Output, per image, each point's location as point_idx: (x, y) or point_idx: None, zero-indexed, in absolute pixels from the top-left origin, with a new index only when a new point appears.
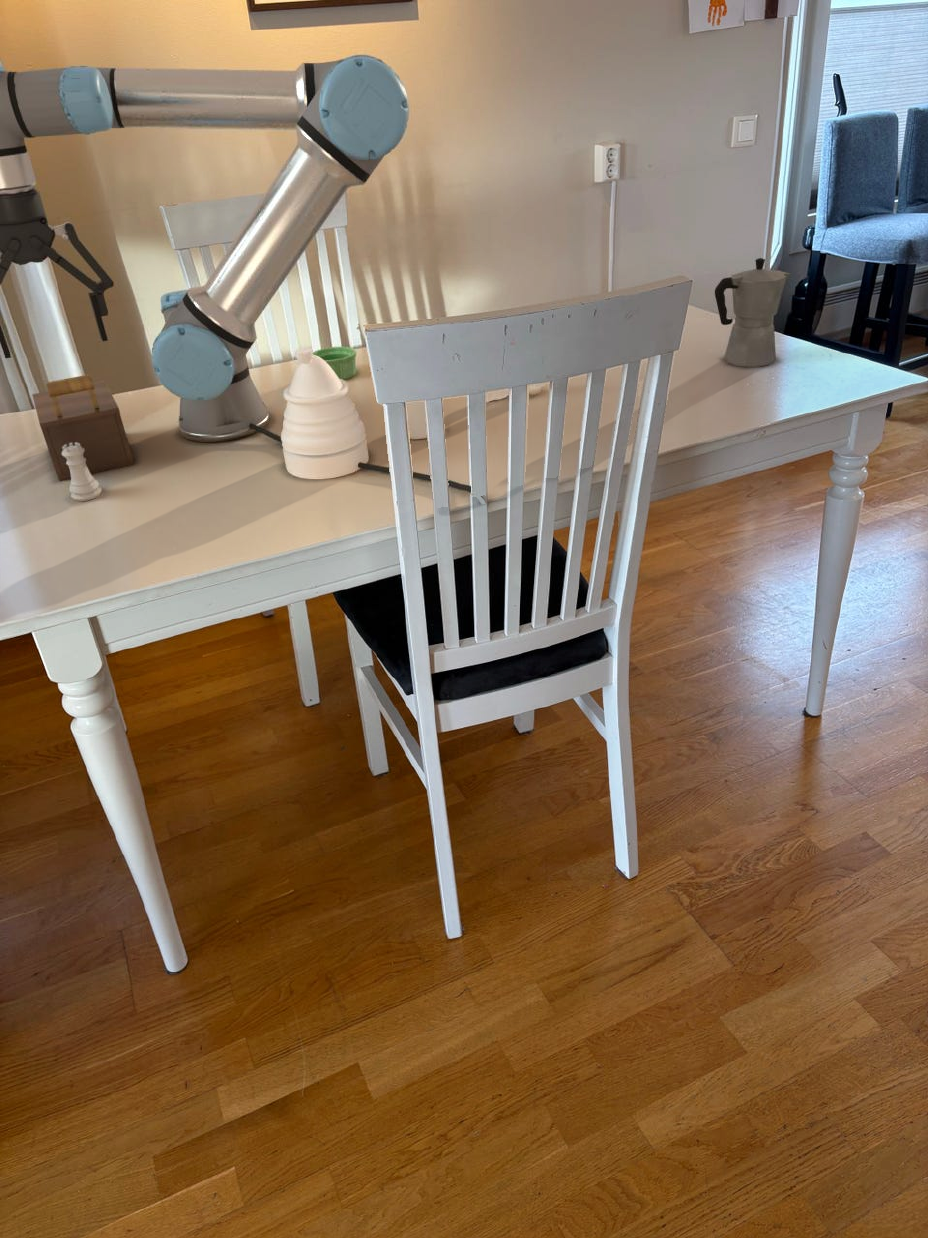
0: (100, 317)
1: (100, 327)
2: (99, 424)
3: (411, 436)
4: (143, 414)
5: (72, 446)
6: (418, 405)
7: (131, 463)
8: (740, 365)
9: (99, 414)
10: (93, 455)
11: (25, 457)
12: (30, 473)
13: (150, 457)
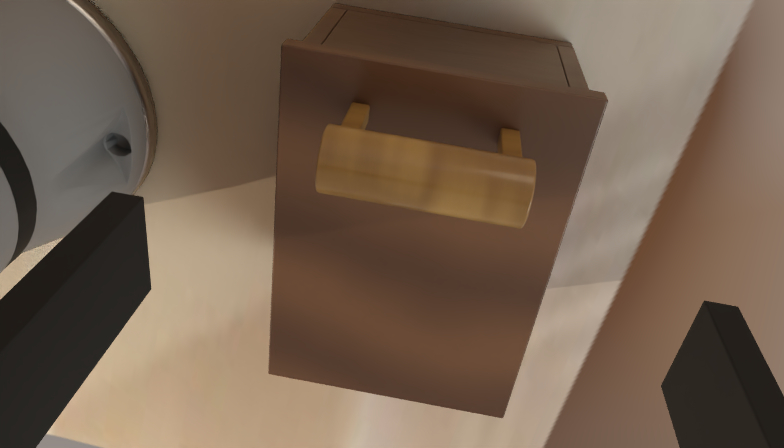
0: (29, 278)
1: (89, 243)
2: None
3: None
4: (229, 344)
5: None
6: None
7: (341, 5)
8: None
9: (366, 54)
10: (444, 38)
11: (573, 291)
12: (611, 170)
13: (277, 20)
